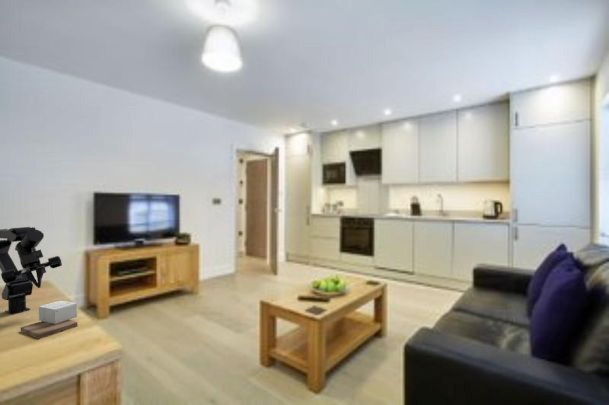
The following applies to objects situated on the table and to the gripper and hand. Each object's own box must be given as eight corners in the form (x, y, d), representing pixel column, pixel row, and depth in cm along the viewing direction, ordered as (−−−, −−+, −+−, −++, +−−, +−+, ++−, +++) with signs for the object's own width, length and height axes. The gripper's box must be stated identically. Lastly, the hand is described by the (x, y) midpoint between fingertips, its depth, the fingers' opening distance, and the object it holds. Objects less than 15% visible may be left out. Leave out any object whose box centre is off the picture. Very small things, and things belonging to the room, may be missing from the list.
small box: (38, 320, 124) (54, 324, 119) (37, 306, 124) (54, 309, 119) (61, 313, 131) (77, 317, 127) (61, 299, 131) (77, 303, 126)
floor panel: (20, 331, 117) (20, 327, 117) (58, 320, 128) (58, 316, 128) (39, 338, 111) (39, 334, 111) (77, 326, 121) (77, 322, 121)
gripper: (-7, 254, 122) (4, 291, 118) (53, 238, 134) (65, 271, 130) (-1, 265, 130) (10, 300, 126) (56, 249, 142) (67, 280, 138)
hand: (39, 287), depth 130 cm, fingers closed
